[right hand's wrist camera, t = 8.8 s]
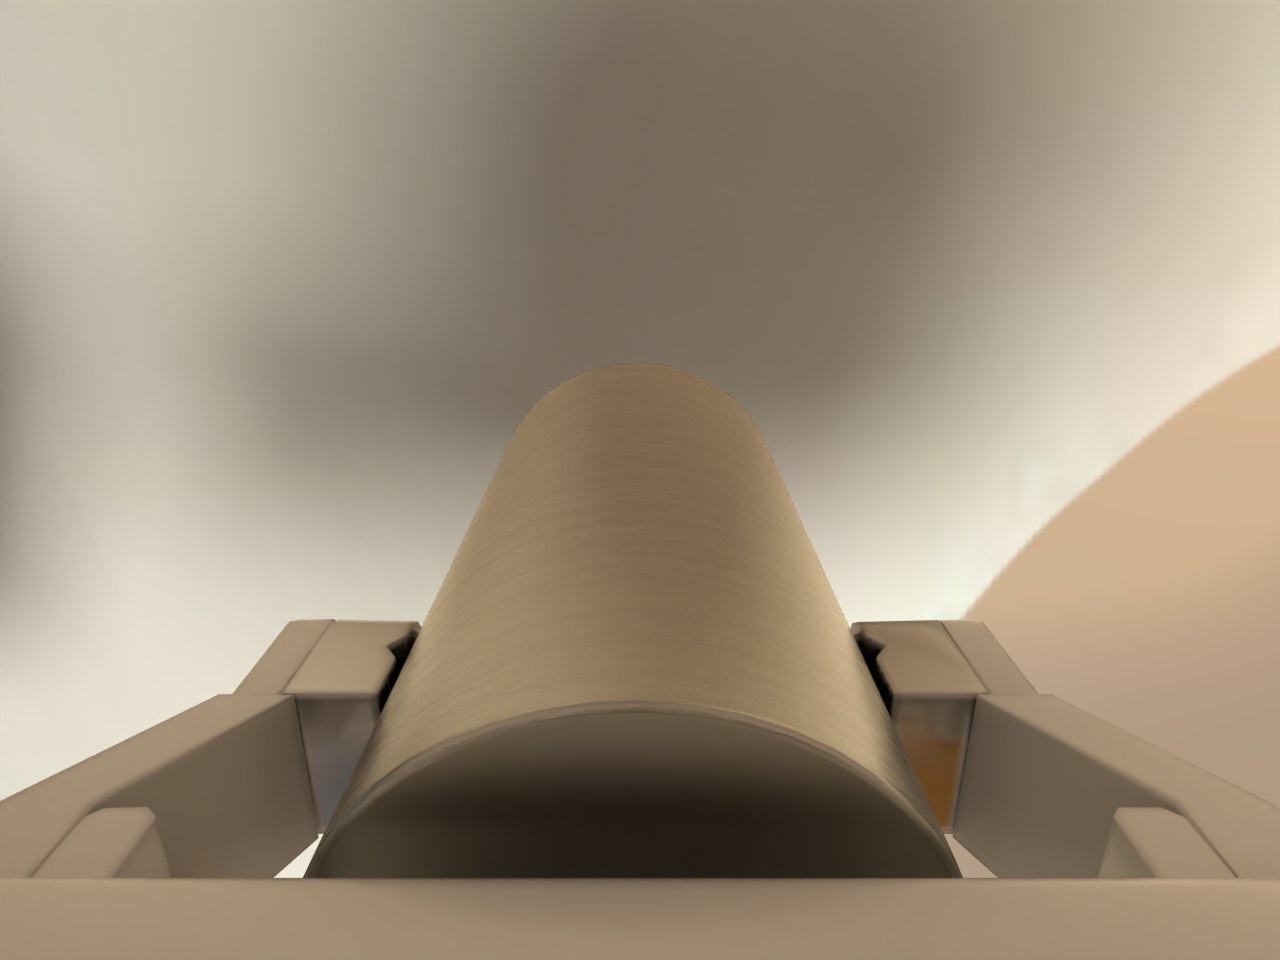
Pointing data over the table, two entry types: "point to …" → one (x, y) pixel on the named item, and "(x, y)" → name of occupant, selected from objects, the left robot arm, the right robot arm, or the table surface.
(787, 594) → the canister
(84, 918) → the right robot arm
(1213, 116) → the table surface
